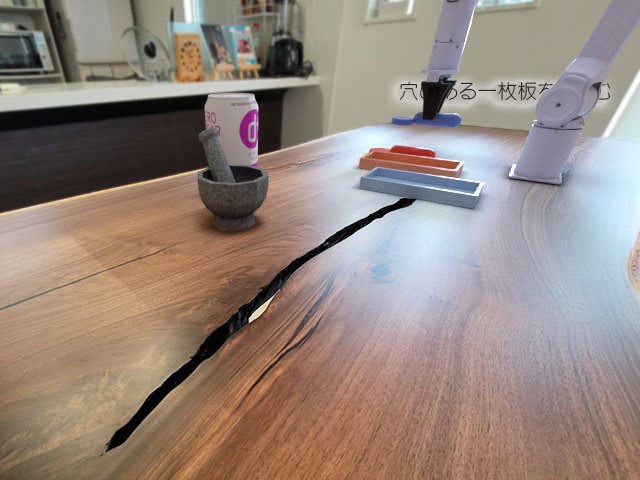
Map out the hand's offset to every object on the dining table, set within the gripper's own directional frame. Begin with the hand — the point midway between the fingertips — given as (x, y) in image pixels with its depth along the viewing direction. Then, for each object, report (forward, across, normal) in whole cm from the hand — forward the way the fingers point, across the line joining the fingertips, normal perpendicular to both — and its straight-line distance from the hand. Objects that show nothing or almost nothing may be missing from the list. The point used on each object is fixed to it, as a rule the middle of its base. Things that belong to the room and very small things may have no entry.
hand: (429, 118), depth 79 cm
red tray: (+8, +14, +1) cm, 16 cm away
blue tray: (+8, +27, +6) cm, 29 cm away
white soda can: (+8, +46, -20) cm, 51 cm away
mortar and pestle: (+8, +56, -13) cm, 58 cm away
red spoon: (+8, +5, -3) cm, 10 cm away
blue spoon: (+1, 0, -1) cm, 2 cm away
